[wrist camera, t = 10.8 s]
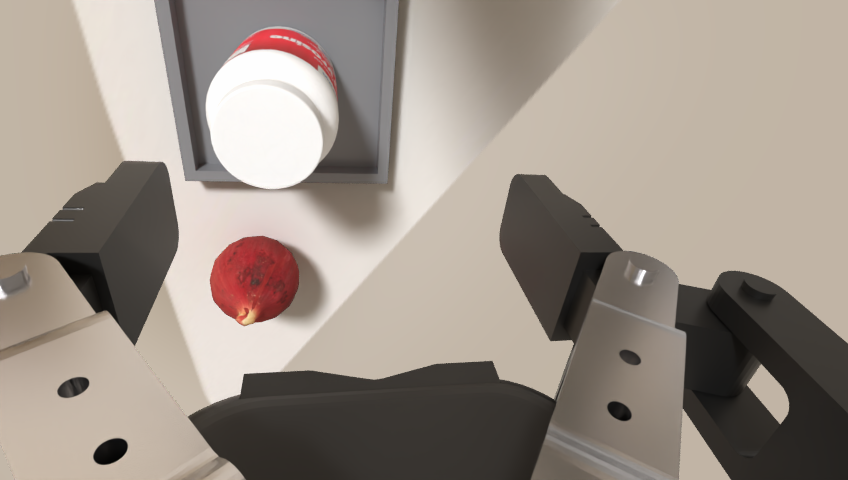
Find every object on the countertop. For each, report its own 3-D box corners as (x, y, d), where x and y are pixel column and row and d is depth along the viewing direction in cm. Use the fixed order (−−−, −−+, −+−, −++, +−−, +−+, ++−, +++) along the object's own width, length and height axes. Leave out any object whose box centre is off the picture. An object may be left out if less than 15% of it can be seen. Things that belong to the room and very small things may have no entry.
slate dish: (154, -57, 26) (144, -56, 24) (396, -32, 28) (400, -30, 27) (191, 169, 33) (185, 180, 31) (384, 172, 35) (387, 183, 34)
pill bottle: (356, 82, 31) (370, 144, 22) (289, 145, 32) (275, 229, 23) (281, -1, 28) (259, 31, 18) (209, 73, 29) (156, 137, 20)
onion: (232, 206, 34) (211, 271, 28) (311, 230, 37) (308, 296, 30) (212, 269, 37) (187, 343, 30) (287, 288, 39) (279, 361, 32)
